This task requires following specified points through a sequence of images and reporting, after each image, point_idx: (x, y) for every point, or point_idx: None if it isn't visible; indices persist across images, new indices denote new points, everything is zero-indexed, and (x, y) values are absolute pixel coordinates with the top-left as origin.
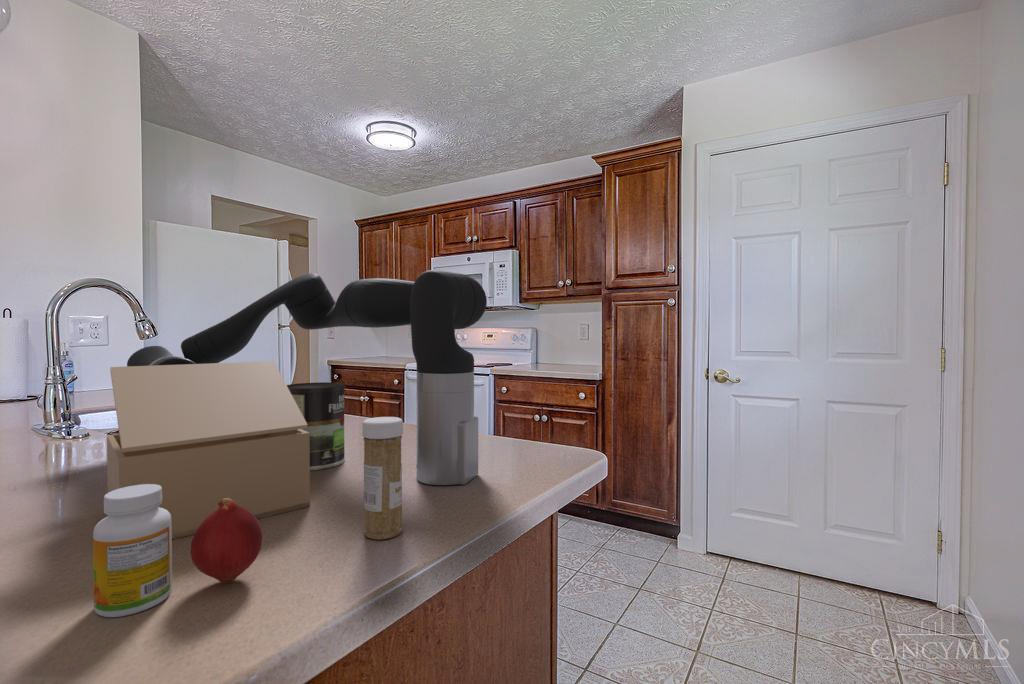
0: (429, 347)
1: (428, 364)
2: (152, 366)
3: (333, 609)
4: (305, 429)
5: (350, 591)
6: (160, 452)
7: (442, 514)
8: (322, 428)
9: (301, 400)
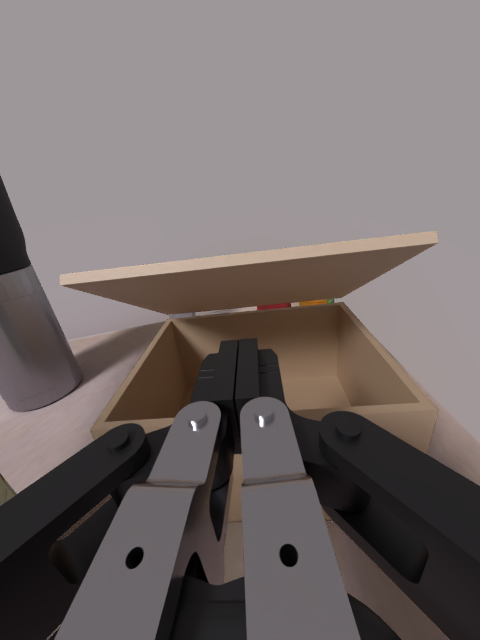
0: (13, 232)
1: (23, 255)
2: (343, 242)
3: (246, 307)
4: (8, 485)
5: (235, 311)
6: (310, 306)
7: (143, 340)
8: None
9: None
